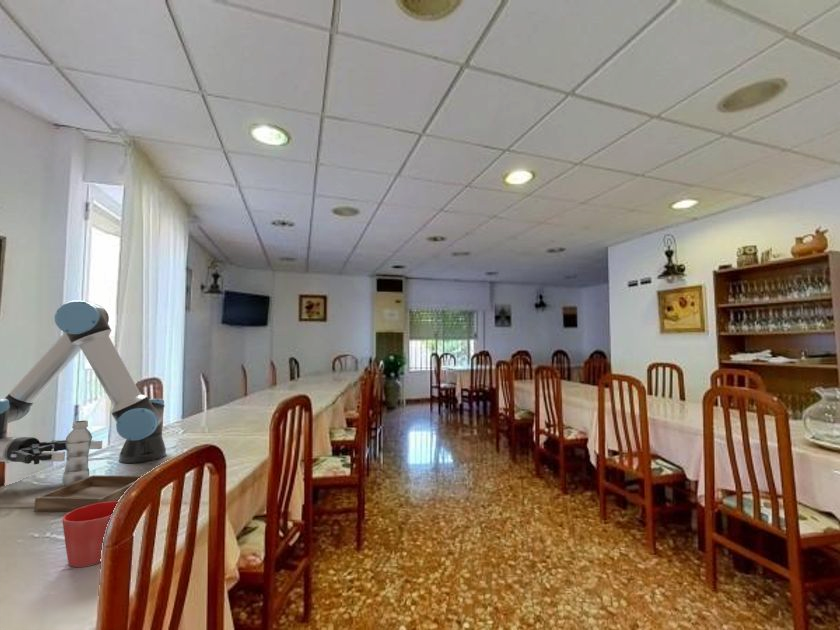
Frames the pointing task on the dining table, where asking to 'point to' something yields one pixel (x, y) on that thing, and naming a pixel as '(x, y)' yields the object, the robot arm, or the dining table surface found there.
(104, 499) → the walnut tray
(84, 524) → the flower pot
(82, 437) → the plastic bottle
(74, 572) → the dining table surface
